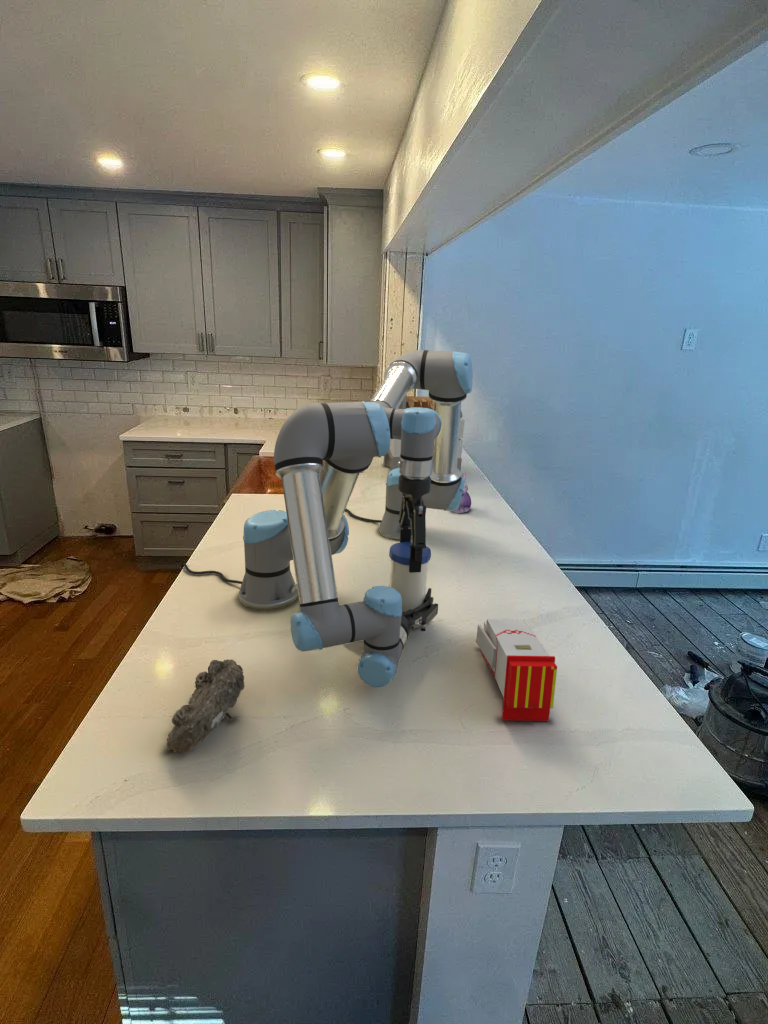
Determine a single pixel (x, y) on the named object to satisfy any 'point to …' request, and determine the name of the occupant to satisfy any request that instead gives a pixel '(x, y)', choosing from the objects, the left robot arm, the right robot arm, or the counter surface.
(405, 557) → the lid
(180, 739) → the fossil
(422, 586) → the jar
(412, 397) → the light grey boxy frame
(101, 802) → the counter surface
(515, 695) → the toy
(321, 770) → the counter surface
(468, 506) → the figurine
